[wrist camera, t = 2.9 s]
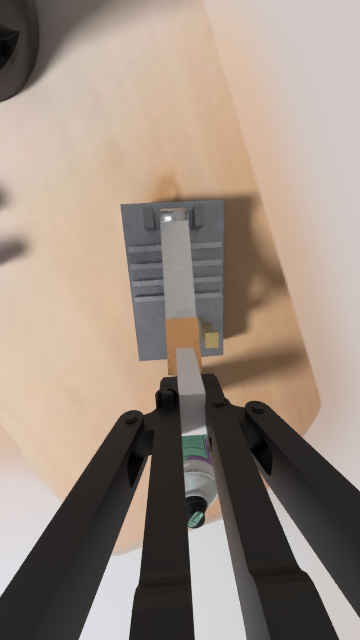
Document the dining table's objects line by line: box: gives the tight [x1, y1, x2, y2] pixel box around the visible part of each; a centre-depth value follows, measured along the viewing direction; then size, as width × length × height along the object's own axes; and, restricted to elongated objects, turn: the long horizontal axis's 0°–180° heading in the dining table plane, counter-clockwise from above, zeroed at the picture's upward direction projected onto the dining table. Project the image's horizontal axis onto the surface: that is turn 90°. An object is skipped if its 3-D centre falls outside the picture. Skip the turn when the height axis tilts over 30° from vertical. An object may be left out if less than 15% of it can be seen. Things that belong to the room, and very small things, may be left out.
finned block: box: [120, 199, 224, 361], centre depth 28 cm, size 20×12×9 cm, turn 3°
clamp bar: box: [160, 208, 202, 375], centre depth 21 cm, size 17×3×3 cm, turn 4°
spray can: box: [172, 374, 218, 528], centre depth 28 cm, size 6×6×20 cm
